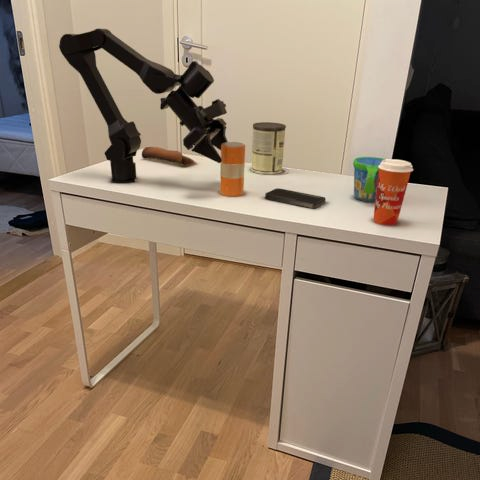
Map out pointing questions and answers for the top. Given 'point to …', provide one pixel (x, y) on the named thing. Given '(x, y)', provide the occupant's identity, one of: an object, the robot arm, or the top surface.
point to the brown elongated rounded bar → (167, 155)
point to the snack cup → (366, 177)
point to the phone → (295, 198)
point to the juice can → (232, 168)
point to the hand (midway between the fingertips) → (226, 158)
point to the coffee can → (268, 147)
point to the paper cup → (391, 190)
